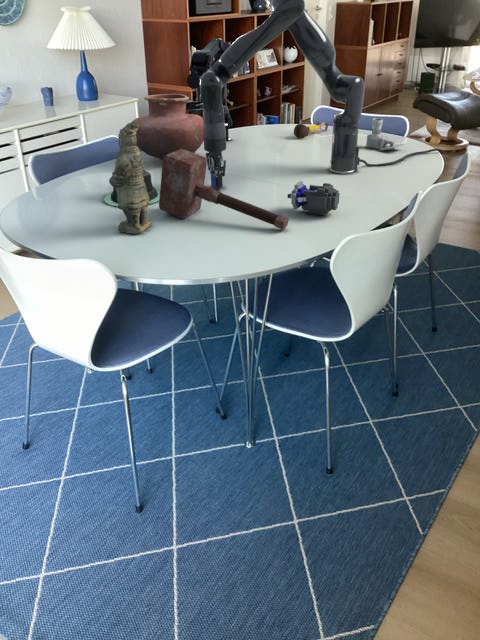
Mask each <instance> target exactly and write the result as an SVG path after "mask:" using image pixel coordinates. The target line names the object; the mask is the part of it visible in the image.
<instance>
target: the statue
mask: <svg viewBox="0 0 480 640" xmlns="http://www.w3.org/2000/svg"><path fill="white" fill-rule="evenodd" d="M132 121H133V120H132ZM132 121H131V122H129V123H127V124H126V125H125V126H123V127H122V128H121V129H119V133H118V139H117V141H118V146H119V152H118V154H117V156H116V160H115V164H114V169H113V172H114V175H113V176H112V175H111V176H110V177H109V180H108V183H109V184H110V186H111V187H112V188H113V187H114V188H115V189H116V192H117V202H118V206H117V209H119V210H122V213H123V214H124V215H125V218H126V219H125V220H122V221H120V222H119V224H118V225H117V231H118V232H121V233H126V234H134V235H136V234H142V233H143V232H145V231H146V230H147V229H148V228H150V227H151V226H152V225H153V223H152V220H150V219H148V216H147V214H148V213H147V212H148V211H147V209H148V206H149V205H150V197H149V195H148V192H147V188H146V184H145V182H144V178H143V169H144V165H145V157H144V152H143V151H142V150H141V149H140V148H139V147H138V146H137V145H136V143H137V138H136V131H137V130H138V127H139V123H138V122H137V121H133V122H132Z"/></svg>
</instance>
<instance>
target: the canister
mask: <svg viewBox="0 0 480 640" xmlns="http://www.w3.org/2000/svg"><path fill="white" fill-rule="evenodd" d="M223 182H224V181H223V178H222V185H223V186H224V183H223ZM210 187H211V188H214V189H215V190H218V189H220V188H216V178H215V173H213V174H211V173H210Z"/></svg>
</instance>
